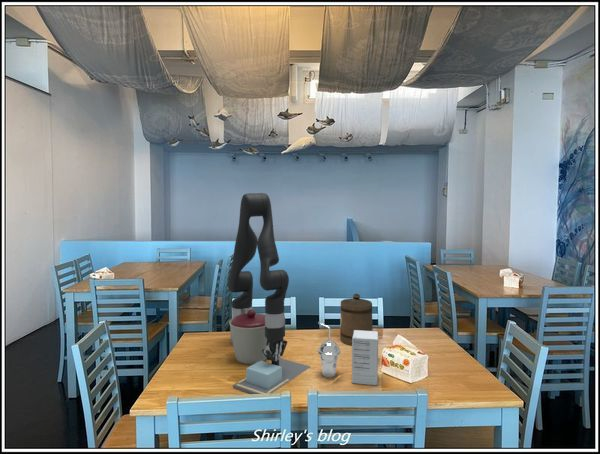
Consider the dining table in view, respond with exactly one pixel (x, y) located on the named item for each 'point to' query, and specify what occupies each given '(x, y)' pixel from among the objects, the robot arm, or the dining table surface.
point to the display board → (288, 373)
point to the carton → (264, 374)
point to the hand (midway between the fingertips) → (275, 369)
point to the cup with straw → (328, 356)
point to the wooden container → (354, 317)
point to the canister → (249, 337)
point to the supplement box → (365, 357)
